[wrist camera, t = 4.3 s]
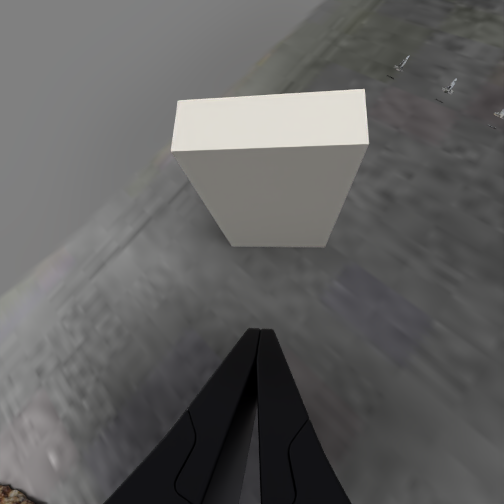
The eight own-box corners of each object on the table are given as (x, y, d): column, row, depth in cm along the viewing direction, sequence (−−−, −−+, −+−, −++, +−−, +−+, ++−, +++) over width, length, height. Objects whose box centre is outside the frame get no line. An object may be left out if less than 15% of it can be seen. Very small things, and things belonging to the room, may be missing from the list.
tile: (324, 247, 21) (368, 143, 10) (232, 246, 22) (171, 151, 10) (324, 216, 22) (364, 84, 10) (233, 216, 23) (178, 96, 11)
